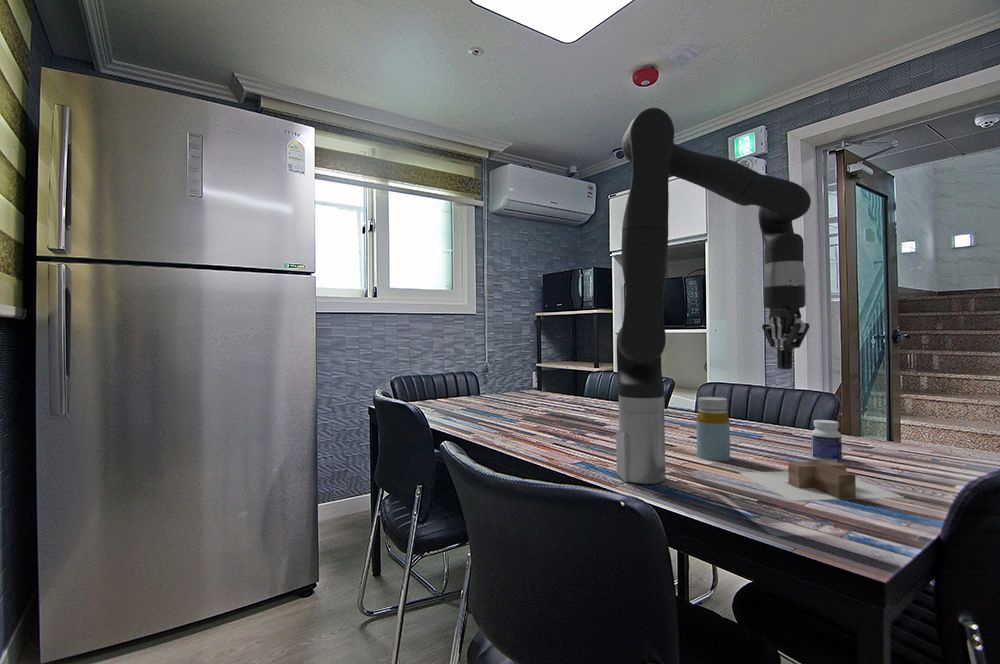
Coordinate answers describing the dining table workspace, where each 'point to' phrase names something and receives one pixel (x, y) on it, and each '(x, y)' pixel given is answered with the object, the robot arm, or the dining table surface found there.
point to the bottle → (713, 429)
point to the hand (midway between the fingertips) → (784, 368)
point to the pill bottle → (826, 441)
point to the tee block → (823, 478)
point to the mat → (782, 487)
